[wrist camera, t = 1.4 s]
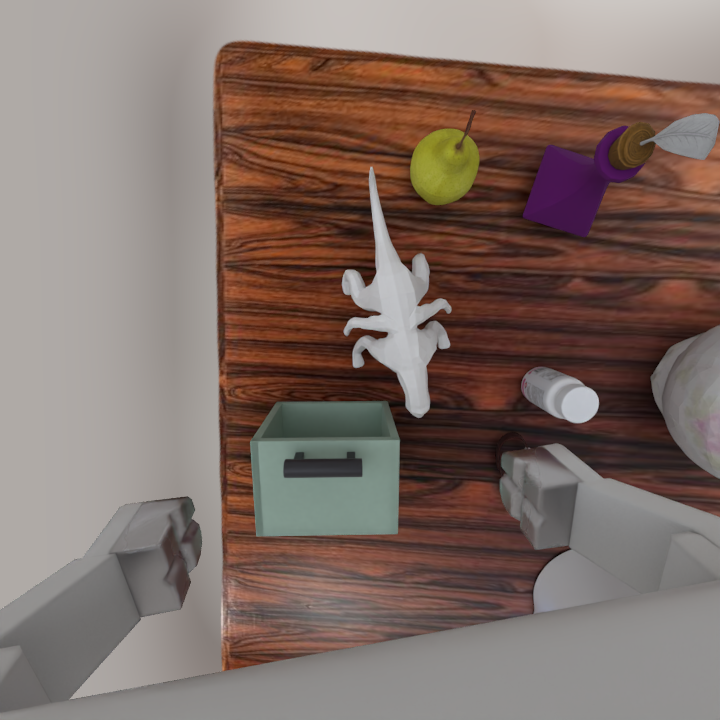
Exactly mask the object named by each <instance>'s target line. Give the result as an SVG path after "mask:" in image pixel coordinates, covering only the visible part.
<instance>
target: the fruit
mask: <svg viewBox="0 0 720 720" xmlns="http://www.w3.org/2000/svg"><path fill="white" fill-rule="evenodd" d="M475 113H476V111H475V110H474V111H473V110H472V112H471V115H470V119H469V122H468V124H467V128H466V131H465V133H464V132H462V131H460V130H457V129H441V130H437V131H434V132H432V133H431V134H429V135H428V136H426V137H425V138H424V139H422V140H421V141H420V143H419V144H418V145H417V147H416V148H415V150H414V153H413V156H412V160H411V165H410V178H411V182H412V185H413V187H414V189H415V191H416V192H417V193H418V194H419V196H421V197H422V198H423V199H424V200H425V201H427V202H428V203H430V204H433V205H444V204H448V203H451V202H454V201H457V200H458V199H460V198H461V197H463V196H464V195H465V194H466V193H467V192H468V191H469V189H470V188H471V186H472V184H473V182H474V180H475V177H476V174H477V171H478V167H479V153H478V148H477V146H476V144H475V143H474V141H473V140H472V139H471V138H470V137H469V136H468V135H467V134H468V132H469V130H470V127H471V123H472V120H473V117H474V115H475Z"/></svg>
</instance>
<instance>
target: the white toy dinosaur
mask: <svg viewBox="0 0 720 720" xmlns="http://www.w3.org/2000/svg"><path fill="white" fill-rule="evenodd" d="M369 187H370V198H371V208H372V217H373V226H374V235H375V243H376V270H377V273H376V276H375V277H374V280H373V282H372V284H370V285H369V286H367V287H366V286H365V283H364V282H363V279H362V277H361V275H360V273H359V272H357V271H355V270H346V271H345V272H344V275H343V279H342V287H343V292H344V293H345V294H346V295H351V296H352V299H353V300H354V302H355V303H356V304H357V305H358V306H359V307H361V308H363V309H365V310H367V311H377V312H380V313H381V315H379V316H371V317H369V318H358V317H354V318H352V319H350V320H349V321H348V323H347V325H346V327H345V329H344V331H343V332H344V334H345V335H346V336H348V335H349V332H350V331H351V329H352V328H359V327H360V328H362V329H368V330H377V331H383V332H388V336H387V337H386V338H380V339H378V340H377V339H375V338H374V337H371V336H368V335H367V336H364V337H361V338H360V339H359V340H358V341H357V343H356V344H355V347H354V349H353V352H352V356H353V367H355V368H359V367H362V366H363V365H364V360H363V358H362V355H361V352H362V351H363V350H365V349H366V348H367V350H368V351H369V352H370V354H371V355H372V356H373V357H374V358H375V359H377V360H378V361H379V362H380V363H382V364H384V365H385V366H387V367H388V368H390V369H391V370H392V371H394V372H396V373H397V376H398V379H399V382H400V384H401V386H402V388H403V390H404V393H405V396H406V408H407V409H408V410H409V412H410V413H411V414H412V415H414V416H416V417H417V418H421V417H422V416H423V415H424V414H425V413H426V412H428V410H429V408H430V396H429V393H428V375H427V368H426V365H427V364H428V363H429V361H430V359H431V357H432V355H433V353H434V352H435V351H436V349H437V347H436V345H437V342H438V347H439V348H440V349H446V348H449V347H450V342H449V339H448V337H447V333H446V331H445V330H444V328H443V326H442V325H441V324H440V323H438V322H437V321H430V322H429V323H428V324H427V325H426V326H425V329H422V330H419V329H418V328H417V325H419V324H421V323H423V322H424V321H425V320H427V319H428V318H429V317H431V316H433V315H434V314H436V313H437V312H438V311H439V310H440V309H444V310H445V311H446V313H448V314H449V313H450V312H451V310H452V308H451V306H450V305H449V304H448V302H447V301H446V300H445V299H441V298H440V299H437V300H435V301H434V302H432V303H431V304H424V305H422V306H420V307H419V306H417V304H418V303H419V302H420V300H421V299H422V298H423V296H424V295H425V294H426V292H427V291H428V287H429V274H430V271H429V265H428V263H427V261H426V259H425V256H424V255H423V254H422V253H420V254H417V255H416V256H415V257H414V258H413V260H412V266H413V267H412V273H411V272H410V271H409V270H408V268H407V267H406V266H404V265H403V264H402V263H401V261H400V258H399V256H398V254H397V252H396V250H395V249H394V247H393V245H392V243H391V240H390V237H389V234H388V231H387V227H386V224H385V220H384V217H383V213H382V209H381V205H380V201H379V197H378V192H377V187H376V180H375V175H374V171H373V167H370V174H369Z"/></svg>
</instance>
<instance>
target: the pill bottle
mask: <svg viewBox="0 0 720 720" xmlns="http://www.w3.org/2000/svg"><path fill="white" fill-rule="evenodd" d="M521 390H522V393H523V395H524V396H525V397H526V399H528V400H529V401H530V402H532V403H533V404H535V405H537V406H538V407H540V408H541V409H543V410H545V411H546V412H548V413H550V414H551V415H553V416H555V417H557V418H561V419H566V420H568V421H570V422H573V423H583V422H586V421H588V420H589V419H591V418H592V417H593V416H594V415H595V414H596V412H597V410H598V407H599V399H598V396H597V394H596V393H595V392H594V391H593V390H592V389H590V388H588V387H586V386H585V385H584V384H583V383H582V382H581V381H579V380H577V379H575V378H573V377H570V376H568V375H565V374H563V373H560V372H558V371H555V370H553V369H550V368H547V367H536V368H533V369H531V370H530V371H529V372H528V373H527V374H526V375H525V376H524V378H523V380H522V384H521Z"/></svg>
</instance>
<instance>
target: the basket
mask: <svg viewBox="0 0 720 720" xmlns="http://www.w3.org/2000/svg"><path fill="white" fill-rule="evenodd" d="M250 446H251V461H252V477H253V492H254V507H255V523H256V536H302V535H366V534H398V503H399V456H400V439H399V436H398V433H397V430H396V427H395V423H394V420H393V417H392V414H391V411H390V407H389V404H388V401H329V402H276V404H275V405H274V407H273V408H272V410H271V411H270V413H269V414H268V416H267V417H266V419H265V420H264V422H263V423H262V425H261V426H260V428H259V429H258V431H257V432H256V434H255V435H254V437H253V438H252V440H251V441H250Z"/></svg>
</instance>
